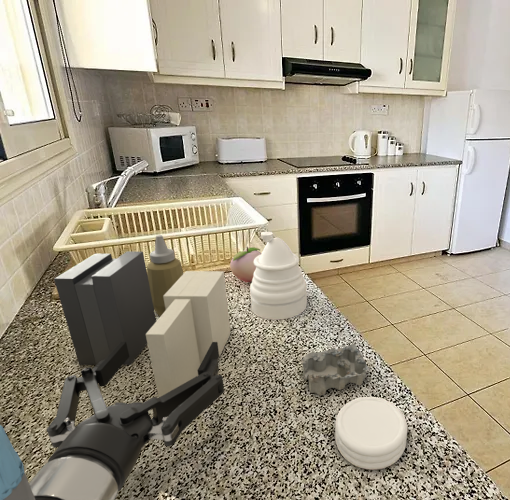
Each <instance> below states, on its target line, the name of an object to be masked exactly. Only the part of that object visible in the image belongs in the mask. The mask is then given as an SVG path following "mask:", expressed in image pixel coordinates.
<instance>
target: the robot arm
mask: <svg viewBox="0 0 510 500" xmlns="http://www.w3.org/2000/svg"><path fill="white" fill-rule="evenodd" d="M128 358H129V352H128V348H127V344H126V342H120V344H119V345H118V346H117V347H116V348H115V349H114V350H113V351H112V352H111V353H110V354H109V356H108V357H107V358H106V359H105V360H101V361H100V362H98V363H97V365H94V367H93V368H92V367H88V366H87V367H84V368H82V369H81V371H80V374H81V376H78V377H77V375H74V374H72V375H68V376H67V377H65V379H64V383H63V386H62V391H61V395H60V398H59V399H60V400H59V404H58V407H57V412H56V416H55V417H54V418H53V420H52V421H51V422H50V424H49V425H48V426H47V428H46V432H47V435H48V438H49V441H50V443H51V447H52V448H53V449H56V450H54V452H53V453H52V454H51V456H50V457H49V458H48V460H47V462H46V463H45V464H44V465H43V466H41V468H40V469H39V470H38V471H37V473H35V475H34V476H33V477H32V478H31V480H30V481H29V480H28V476H27V474H26V472H25V466H24V463H23V461H22V460H21V458H20V456H19V453H18V451H16V450H15V448H14V446H13V444H12V442H11V440H10V438H9V436H8V434H7V433H6V431H5V428H4V427H3V425H1V424H0V500H116V498H117V496H118V494H119V492H120V491H121V490H122V489H123V487H124V485H125V483H126V481H127V480H128V478H129V476H130V474H131V472H132V471H133V469H134V467H135V466H136V463H137V461H138V459H139V457H140V454H141V451H142V449H143V448H144V446H145V445H146V444H148V443H149V442H150V441H151V440H159V441H163V444H164V446H165V447H172V446H173V445H175V444H176V442H177V440H178V439H179V437H180V435H181V434H182V432H183V431H184V430H185V429H186V428H187V427H188V426H189V425H191V424H192V422H194V421H195V420H196V419H197V418H198V417H200V415H201V414H203V412H205V411H206V410H207V409H208V408H210V406H211V405H213V403H215V402H216V400H218V399H219V398H220V397H221V396H222V395H223V394H224V393H225V386H224V378H223V375H222V374H218V373H219V372H220V371H219V370H220V367H219V359H220V357H219V351H218V343H217V342H212V344H211V346H210V347H209V349H208V351H207V353H206V355H205V357H204V359H203V361H202V363H201V365H200V367H199V368H198V375H197V376H196V377H195V378H193V379H191V380H189V381H187V382H186V383H184V384H182V385H180V386H179V387H177V388H175V389H173V390H171V391H170V392H168V393H166V394H164V395H163V396H161V397H159V396H158V397H156V396H153V397H151V398H149V399H147V400H146V401H143V402H142V401H141V402H138V401H137V402H136V401H135V402H130V403H126V402H115V403H114V404H112V405H108V406H107V403H106V401H105V399H104V397H103V395H102V393H101V390H100V387H106V386H107V385H108V384H109V383H110V381H111V380H112V379H113V377H114V376H115V375H116V374H117V372H118V371H119V370H120V369H121V368H122V366H124V365H123V364H124V363H125V362H126V360H127V359H128ZM218 358H219V359H218ZM84 391H86V394H87V396H88V400H89V403H90V405H91V408H92V411H93V415H91V416H88V417H87V418H86V419H84V420H82V421H80V422H79V423H78V424H77V425H76V420H77V419H76V418H77V413H78V408H79V402H80V398H81V393H82V392H84ZM149 411H152V414H153V417H152V418H151V415H150V412H149Z"/></svg>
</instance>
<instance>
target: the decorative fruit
mask: <svg viewBox="0 0 510 500" xmlns="http://www.w3.org/2000/svg"><path fill="white" fill-rule="evenodd" d="M261 253H262V252H261V249H260V248H259V247H253V246H252V247H248V245H247V246H246V248H245V249H244V250H242V251H239V252H236V254H234V256H233V257H232V258H231V260H230V264H229V268H230V272H231V273H232V274H233V276H234V277H235V278H236V279H238V280H240V281H242V282H245V283H252V279H253V277H254V271H255V270H256V266H255V265H254V259H255V258H256V257H257V256H258V255H261Z"/></svg>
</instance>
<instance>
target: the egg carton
mask: <svg viewBox="0 0 510 500" xmlns="http://www.w3.org/2000/svg"><path fill="white" fill-rule="evenodd" d="M300 362H301V364H302V376H303V379H304V381H306V380H308V391H309V393H310V394H317V395H318V396H324V395H326V394H327V393H326V392H327V390H330V389H336V390H338V391H341V390H345V387H346V385H348V384H355V385H356V386H361V385H363V383H364V380H365V379H366V378H367V373H368V371H371V370H370V369H371V368H370V367H369V366H368V365H367V361H366V360H365V359H364V357H363V355H362V353H361V351H360V350H359V349H358V347H357V345H356V344H355V343H351V344H349V345H347V346H343V347H338V348H337V349H336V348H335V347H333V348H330V349H327V350H322V351H319V352H309V353H307V354H306V355H305V356H304V357H302V358H301V360H300Z"/></svg>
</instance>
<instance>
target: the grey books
mask: <svg viewBox="0 0 510 500" xmlns="http://www.w3.org/2000/svg"><path fill="white" fill-rule="evenodd" d="M53 281H54V284H55V287H56V291H57V294H58V298H59V301H60V304H61V308H62V311H63V315H64V318H65V322H66V325H67V329H68V331H69V335H70V339H71V342H72V346H73V349H74V352H75V355H76V358H77V362H78V365H80V366H96V365H97V363H98V362H100V361H101V360H105V359H106V358H107V357H108V356H109V354H110V353H111V352H112V351H113V350H114V349H115V348H116V347H117V346H118V345H119V344H120V342H126V344H127V348H128V352H129V358H128V359H127V360H126V362H125V363H124V364H123V365H122V366H131V365H132V364H133V362H135V360H136V358H137V357H138V356H139V355H140V353H142V351H143V350H144V348H145V347H146V346H148V344H147V339H146V333H147V332H148V331H149V330H150V328H151V327H152V326H153V325H154V324H155V323H156V321H157V318H156V311H155V310H154V307H153V301H152V296H151V291H150V286H149V281H148V275H147V265H146V261H145V254H144V251H134V250H133V251H132V250H129V251H125V252H123V253H122V254H121V255H120V256H118V257H117V258H113V256H112V253H94V254H92V255H90V256H89V257H87V258H86V259H84V260H82V261H81V262H78V263H77V264H75V265H74V266H73V267H70V268H69V269H67V270H66V271H64V272H62V273H61V274H60V275H58V276H56V277H54V278H53Z"/></svg>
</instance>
